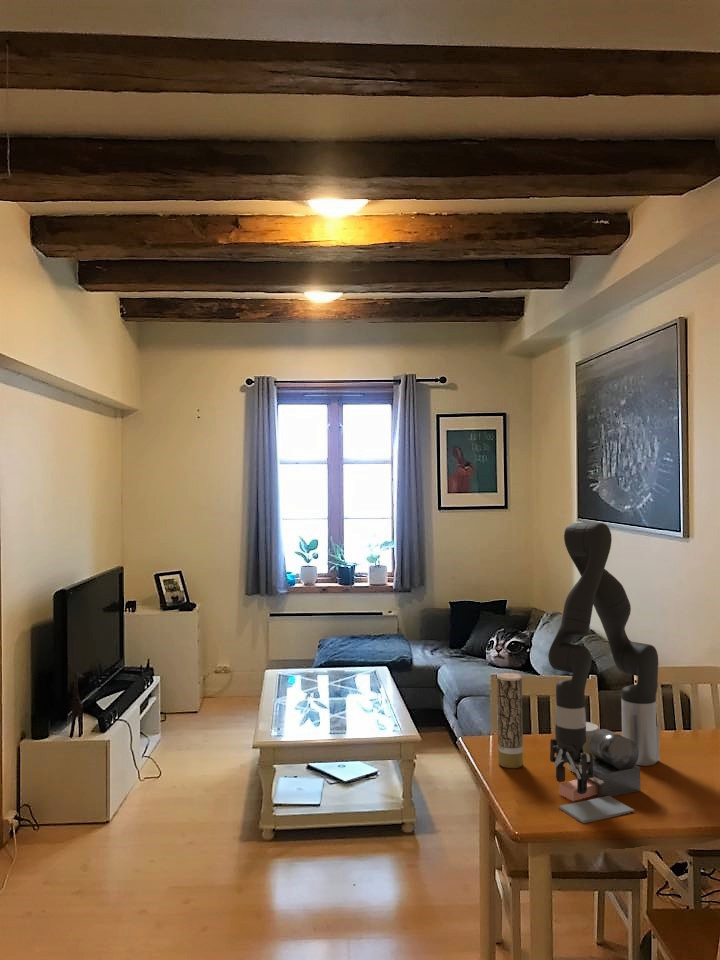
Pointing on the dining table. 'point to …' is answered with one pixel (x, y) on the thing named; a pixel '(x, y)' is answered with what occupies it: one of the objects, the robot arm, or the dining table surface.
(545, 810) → the dining table surface
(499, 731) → the bark print canister
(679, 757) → the dining table surface
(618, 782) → the dispenser
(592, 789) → the pink block
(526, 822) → the dining table surface
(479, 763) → the dining table surface
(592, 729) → the coffee cup
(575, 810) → the mat
